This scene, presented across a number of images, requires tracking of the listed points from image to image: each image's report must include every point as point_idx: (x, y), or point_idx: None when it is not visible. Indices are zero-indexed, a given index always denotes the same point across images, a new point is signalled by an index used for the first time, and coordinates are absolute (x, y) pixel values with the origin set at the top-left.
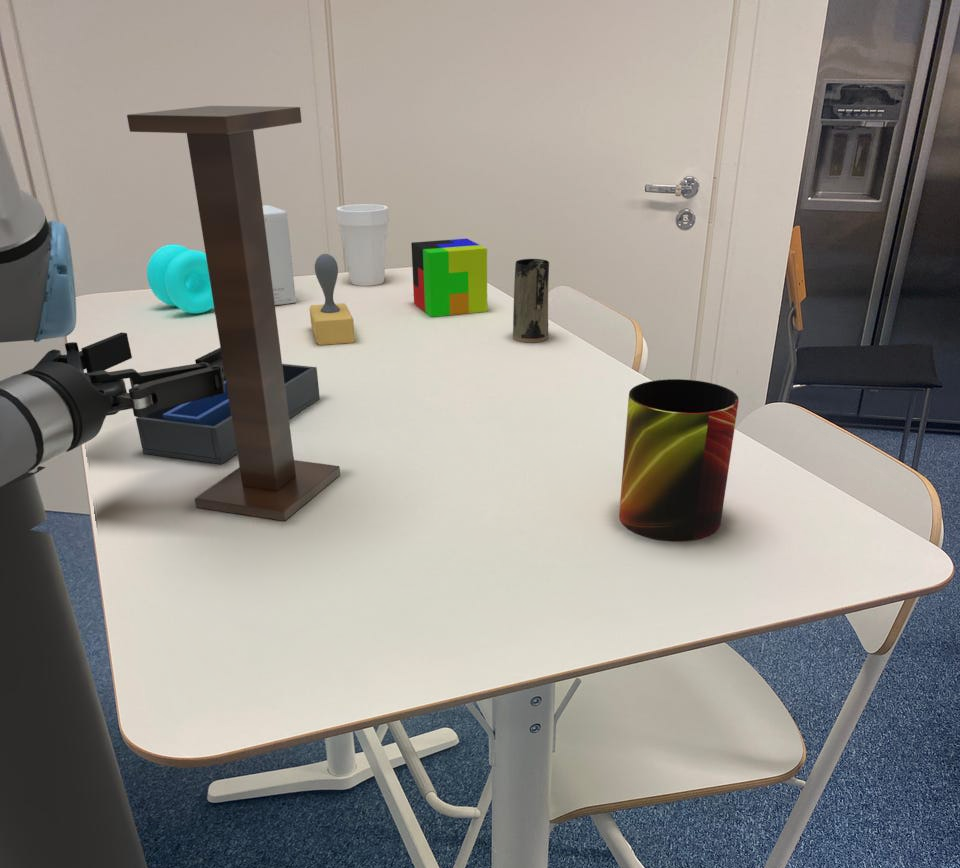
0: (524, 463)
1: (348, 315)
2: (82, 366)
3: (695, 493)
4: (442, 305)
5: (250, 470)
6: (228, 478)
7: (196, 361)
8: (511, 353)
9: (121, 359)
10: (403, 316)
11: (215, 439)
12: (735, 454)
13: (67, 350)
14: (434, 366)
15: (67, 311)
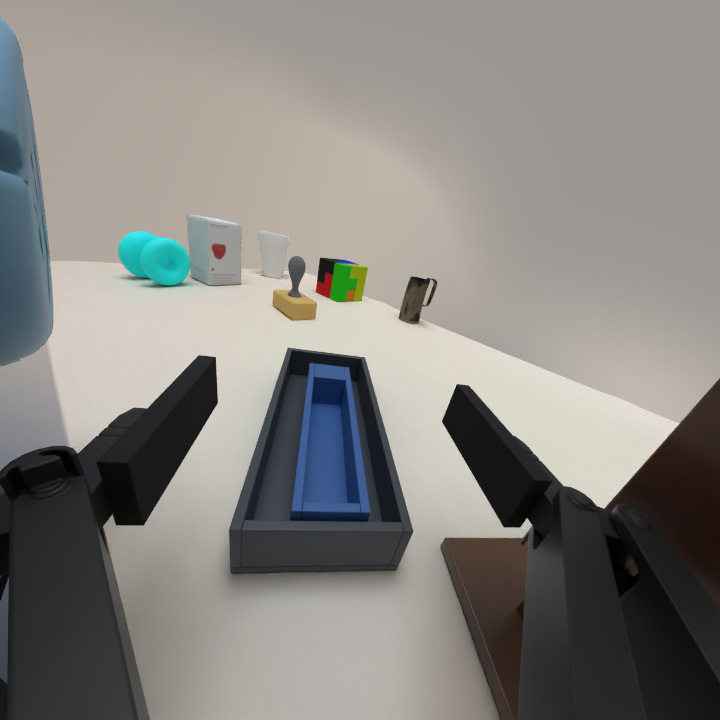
0: (622, 465)
1: (312, 300)
2: (99, 521)
3: None
4: (343, 295)
5: None
6: (507, 676)
7: (537, 483)
8: (417, 331)
9: (203, 419)
10: (320, 300)
11: (404, 545)
12: (668, 425)
13: (16, 494)
14: (392, 342)
15: (21, 308)
